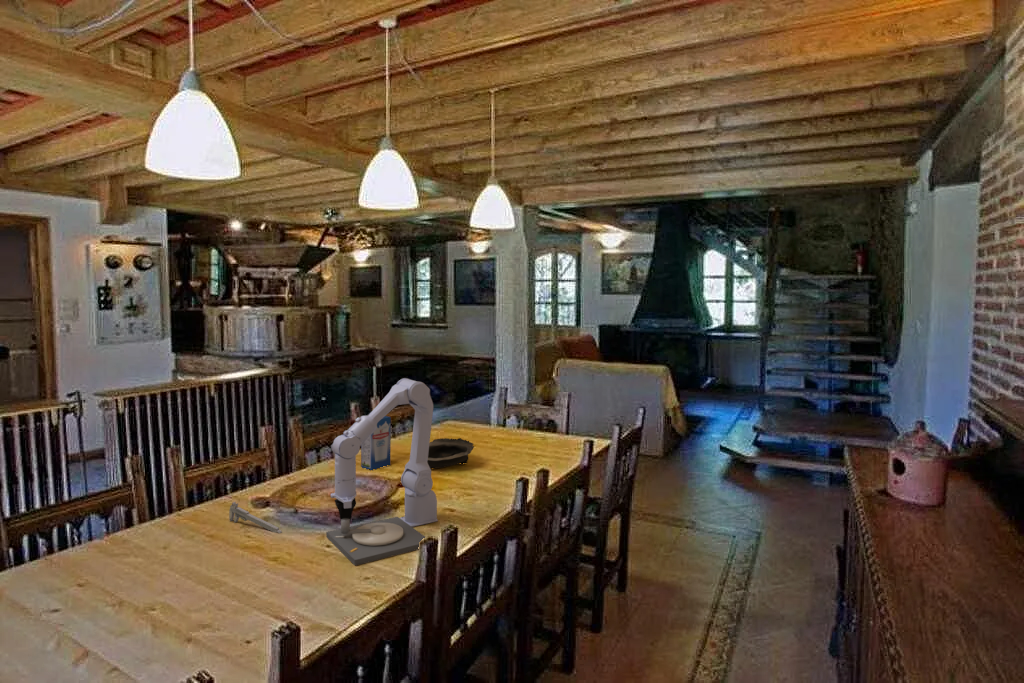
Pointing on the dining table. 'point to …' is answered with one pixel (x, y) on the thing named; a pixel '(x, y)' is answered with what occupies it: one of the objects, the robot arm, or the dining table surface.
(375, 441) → the milk carton
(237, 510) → the caliper
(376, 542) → the dial
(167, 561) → the dining table surface
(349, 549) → the dial plate
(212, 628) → the dining table surface
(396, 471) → the dining table surface
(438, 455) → the stone bowl
